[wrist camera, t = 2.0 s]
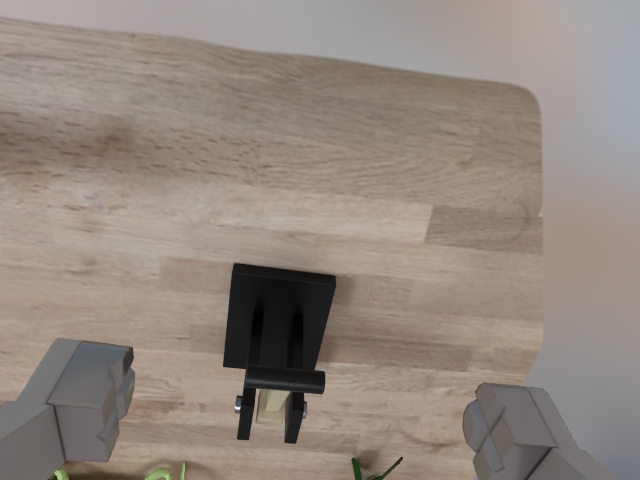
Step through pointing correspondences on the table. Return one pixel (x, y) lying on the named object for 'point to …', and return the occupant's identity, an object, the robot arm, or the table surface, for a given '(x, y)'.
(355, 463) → the flower
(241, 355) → the bracket
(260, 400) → the lever
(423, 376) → the table surface
